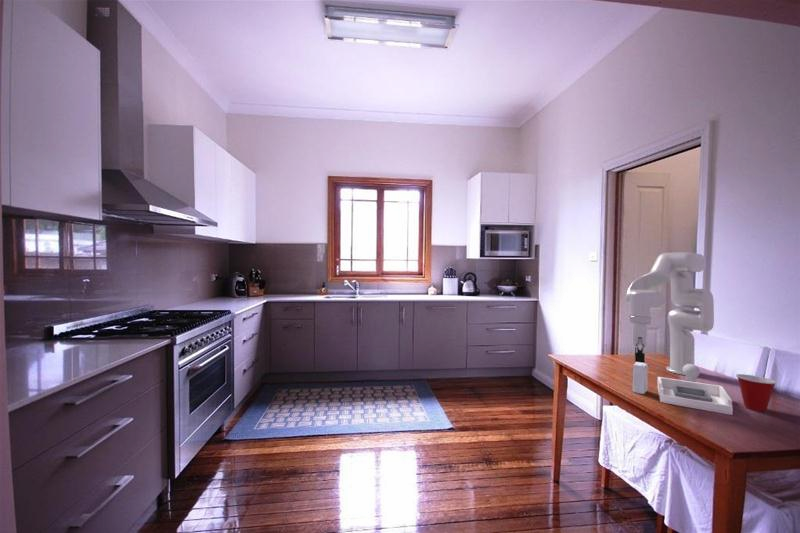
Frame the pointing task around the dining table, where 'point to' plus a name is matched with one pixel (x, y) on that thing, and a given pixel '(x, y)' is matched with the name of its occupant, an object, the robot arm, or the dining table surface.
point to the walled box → (694, 395)
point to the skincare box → (640, 377)
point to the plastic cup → (755, 391)
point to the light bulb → (691, 372)
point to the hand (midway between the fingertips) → (639, 359)
